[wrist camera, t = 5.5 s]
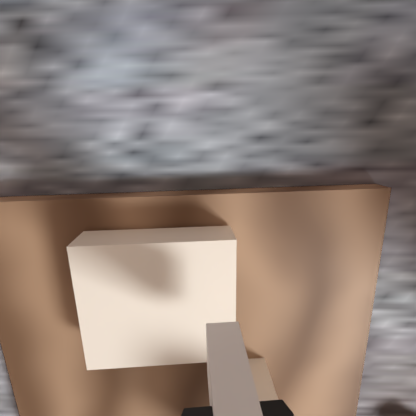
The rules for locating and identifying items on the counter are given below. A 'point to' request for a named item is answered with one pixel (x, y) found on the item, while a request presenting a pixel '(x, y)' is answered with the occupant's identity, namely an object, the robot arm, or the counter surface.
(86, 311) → the tile
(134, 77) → the counter surface
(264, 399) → the tile
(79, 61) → the counter surface
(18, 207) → the board
